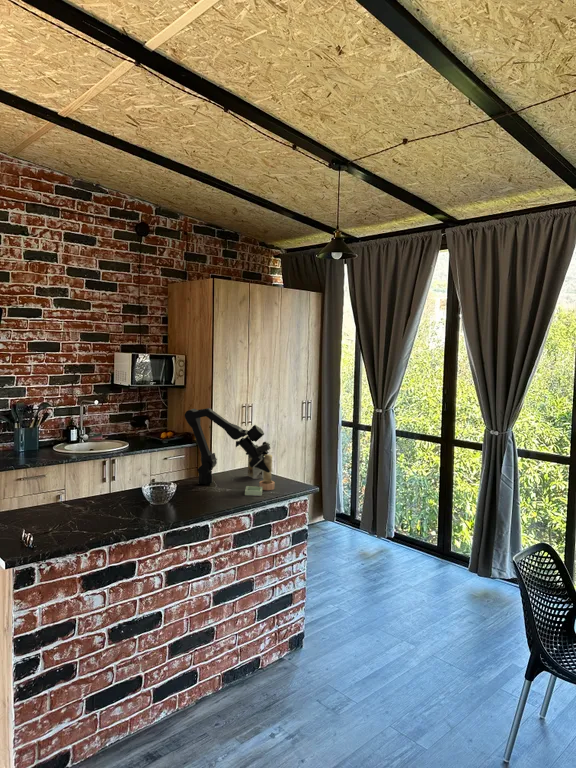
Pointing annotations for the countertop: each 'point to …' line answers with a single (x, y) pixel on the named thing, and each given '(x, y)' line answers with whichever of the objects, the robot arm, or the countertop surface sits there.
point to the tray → (253, 490)
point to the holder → (267, 485)
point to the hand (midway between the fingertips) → (270, 471)
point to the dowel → (269, 464)
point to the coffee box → (254, 471)
